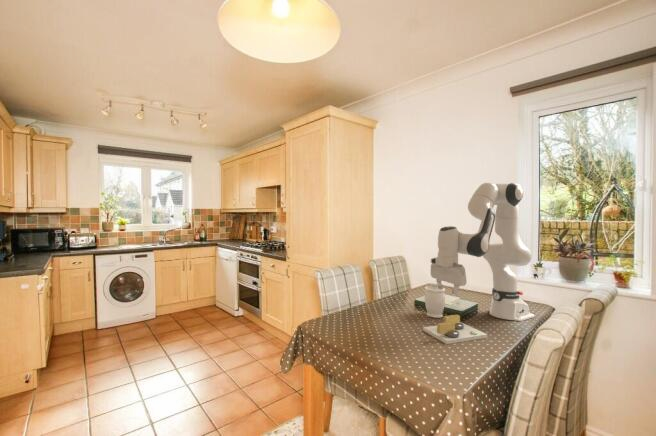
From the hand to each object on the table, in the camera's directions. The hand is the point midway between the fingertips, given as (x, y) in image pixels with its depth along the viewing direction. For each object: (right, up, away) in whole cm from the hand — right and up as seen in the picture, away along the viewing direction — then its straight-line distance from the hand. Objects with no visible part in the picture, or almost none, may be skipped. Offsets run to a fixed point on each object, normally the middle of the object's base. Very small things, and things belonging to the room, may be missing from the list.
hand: (447, 291), depth 141 cm
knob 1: (+3, -17, +1) cm, 18 cm away
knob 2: (-3, -17, -8) cm, 19 cm away
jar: (+2, -19, +23) cm, 30 cm away
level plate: (+2, -19, -2) cm, 19 cm away
